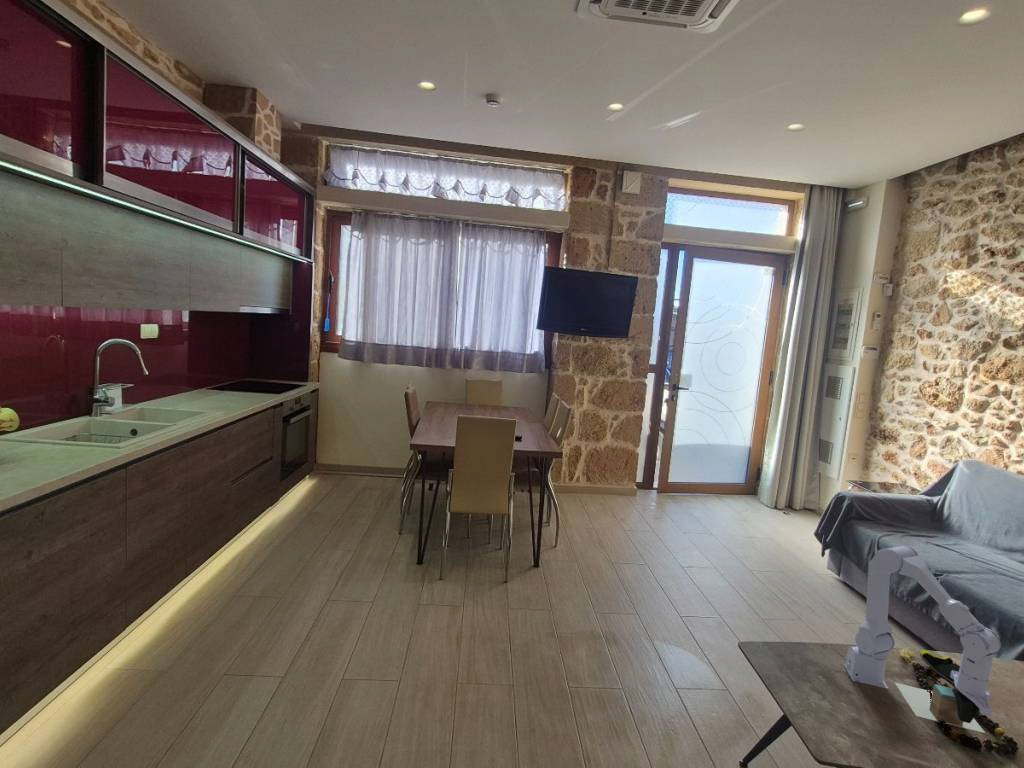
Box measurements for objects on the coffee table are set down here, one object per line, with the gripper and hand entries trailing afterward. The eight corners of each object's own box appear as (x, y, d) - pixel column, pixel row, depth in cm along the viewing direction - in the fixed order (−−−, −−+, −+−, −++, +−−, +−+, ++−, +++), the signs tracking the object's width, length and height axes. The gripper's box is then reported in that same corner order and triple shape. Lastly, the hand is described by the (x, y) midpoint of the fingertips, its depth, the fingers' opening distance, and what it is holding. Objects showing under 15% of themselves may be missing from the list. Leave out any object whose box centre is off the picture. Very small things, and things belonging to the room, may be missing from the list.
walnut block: (936, 719, 140) (941, 693, 139) (929, 709, 144) (934, 684, 143) (962, 726, 139) (967, 699, 138) (954, 715, 142) (959, 689, 141)
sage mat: (915, 717, 141) (916, 715, 141) (894, 684, 155) (894, 682, 154) (985, 735, 137) (985, 733, 137) (956, 699, 150) (957, 697, 150)
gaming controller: (960, 697, 151) (988, 696, 153) (963, 681, 150) (991, 679, 152) (913, 663, 166) (939, 662, 167) (916, 648, 165) (943, 647, 167)
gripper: (1010, 697, 124) (999, 746, 125) (976, 660, 138) (966, 705, 139) (976, 689, 126) (965, 737, 127) (945, 653, 139) (936, 698, 141)
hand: (964, 720), depth 133 cm, fingers closed
